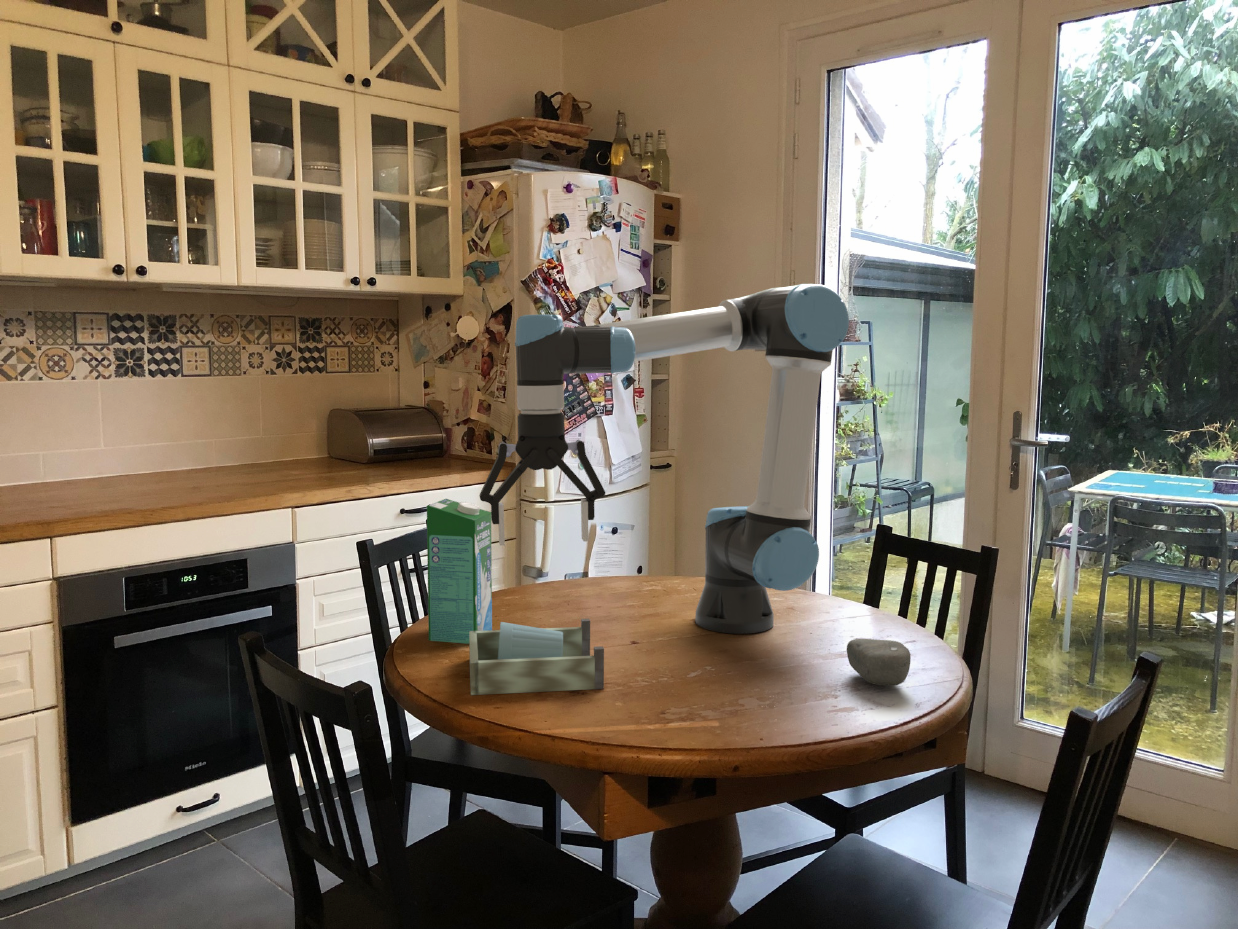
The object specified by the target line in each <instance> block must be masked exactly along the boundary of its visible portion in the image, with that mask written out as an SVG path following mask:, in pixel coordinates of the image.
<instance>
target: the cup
mask: <svg viewBox="0 0 1238 929" xmlns="http://www.w3.org/2000/svg"><path fill="white" fill-rule="evenodd" d="M499 630H500V636H499V650H498V660H502V659H525V658H548V657H562V652H563V632H560V631H555V630H548V629H542V628H541V627H535V626H531V625H530V626H529V625H521V624H518V623H517V624H516V623H512V622H511V623H510V622H503V621H500V624H499Z"/></svg>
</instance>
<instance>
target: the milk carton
mask: <svg viewBox="0 0 1238 929" xmlns="http://www.w3.org/2000/svg"><path fill="white" fill-rule="evenodd" d="M426 538H427V539H426V543H427V544H426V545H427V547H426V549H427V550H426V551H427V552H426V553H427V608H428V610H427V612H428V622H427V623H428V641H430V642H441V643H442V642H444V643H455V644H456V643H458V644H466V645H467V644H468V645H469V631H488V630H493V599H492V598H493V597H492V596H493V595H492V594H493V593H492V592H493V590H492V589H493V585H492V584H493V581H492V580H493V575H492V573H493V572H492V570H493V568H492V564H493V563H492V560H493V559H492V555H493V554H492V520H491V511H488V510H484V509H481V507H480V506H479V505H478V504H475V503H472V502H467V501H460V502H459V501H455V500H452V499H449V498H444V499H441V500H439V501H436V502H433V503H431V504H429V505H427V506H426Z"/></svg>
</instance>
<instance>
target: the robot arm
mask: <svg viewBox="0 0 1238 929" xmlns="http://www.w3.org/2000/svg"><path fill="white" fill-rule="evenodd" d="M848 311H849V310H848V308H847V305H846V303H845V302H844V300H843V299H842V298H841V296H840V295H839V293H837V291H836V290H834V289H833V288H831V287H829V286H827V285H824V284H815V283H801V284H796V285H789V286H784V287H783V286H781V287H771V288H769V289H768V288H767V289H765V290H761V291H757V292H754V293H751V294H749V295H748V294H747V295H743V296H740V297H735V298H729V299H725V300H724V299H723V300H722V301H721V302H719V304H718V306H713V307H708V308H707V307H705V308H701V309H694V310H687V311H680V312H673V313H667V314H659V315H653V316H646V317H640V318H634V319H626V320H619V321H613V322H606V323H600V324H596V325H585V326H578V327H572V326H570V327H569V326H564V323H563V317H562V316H561V315H559V314H524V315H520V316H519V317H518V318H517V320H516V322H515V338H514V339H515V341H514V346H515V363H516V364H515V365H516V366H515V367H516V404H517V405H516V409H518V410H519V411H520V413H518V415H517V440H516V443H515V444H513V443H505V441H502V442H501V441H500V442H499V443H498V450H497V457H496V459H495V461H494V463H493V465H492V467H491V469H490V472H489V473H488V476H487V477H486V480H485V483H483V486H482V489H481V491H480V493H479V499H480V501H481V502H485V503H488V504H489V505H490V512H491V524H492V525H498V544H499V546H505V542H506V541H505V512H504V511H505V510H504V509H505V508H504V507H505V506H504V503H503V502H501V501H502V500H503V498H504V497H505V496H506V495H507V493H508V492H509V491H510V490H511V489H512V487H513V486H514V485H515V483H516V482H517V481H518V480H519V478H520V477H521V476H522V475H523V474H524V473H525V472H526V470H528V469H530V470H533V471H539V470H542V469H543V470H547V471H548V470H549V471H550V470H553V469H555V468H556V467H558V468H559V469H560V470H561V472H562V473H563V474H564V475H565V476H566V478H568V479H569V480H570V481H571V482H572V484H573V485H574V486H575V487H576V488H577V490H579V492H580V493H581V494H582V495H583V496H584V497H585V499H580V516H581V517H580V519H581V521H580V522H581V523H580V524H581V526H580V527H581V539H582V541H583V542H589V521H594V520H595V501H596V500H597V499H598V498H602V497H605V495H606V491H605V488H604V487H603V484H602V483H601V481H600V479H599V477H598V474H597V473H596V472H595V469H594V468H593V465H592V464H591V462H590V460H589V458H588V456H587V452H586V446H585V442H584V441H582V440H581V439H578V440H576V441H571V442H567V440H566V438H565V437H566V436H565V434H566V433H565V429H566V428H565V427H566V426H565V414H564V413H563V412H562V411H561V410H563V409H565V393H564V392H565V391H564V390H565V388H564V385H565V384H564V382H565V379H564V376H565V375H573V374H611V375H613V374H617V373H627V372H628V371H630V370H631V369H632V368H633V365H634V363H635V362H639V361H640V362H641V361H647V360H653V359H654V360H655V359H659V358H665V357H671V356H678V355H685V354H691V353H697V352H702V351H708V350H714V349H715V350H716V349H720V348H724V349H725V350H726V351H728V352H736V351H744V350H757V351H761V350H762V351H765V354H764V359H765V360H766V361H767V363H768V364H769V365H770V367H771V377H770V384H769V385H770V386H769V394H768V402H767V410H766V418H765V425H764V433H763V443H762V449H761V458H760V466H759V472H758V480H757V481H758V482H757V490H756V498H755V501H754V502H752V503H751V504H750V505H748V506H743V505H742V506H725V507H724V506H723V507H713V508H710V509H709V510H708V512H707V513H706V520H705V525H704V530H705V561H704V562H705V564H704V566H705V568H704V571H705V573H704V574H705V576H704V577H705V578H704V586H703V588H702V590H701V594H700V597H699V601H698V603H697V606H696V609H695V619H694V621H695V624H696V625H697V626H698V627H700V628H702V629H705V630H708V631H712V632H716V633H722V634H723V633H724V634H736V635H737V634H739V635H742V634H755V633H761V632H765V631H768V630H770V629H771V628H773V627H774V619H775V618H774V611H773V608H772V607H773V606H772V604H771V600H770V597H769V593H768V590H767V589H770V590H771V589H772V590H776V591H781V592H787V591H792V590H795V589H797V588H799V587H801V586H803V584H804V583H805V582H806V581H809V580H810V578H811V577H812V576H813V574H814V572H815V571H816V570H817V569H816V568H817V566H818V563H819V560H820V548H819V545H818V542H817V541H816V540H815V537H814V536H813V534H811V533H810V530H811V520H812V516H811V514H810V513H809V512H808V511H807V508H806V507H805V501H806V500H805V499H806V493H807V487H808V486H807V485H808V477H809V470H810V463H811V462H810V461H811V454H812V448H813V447H812V445H813V438H814V432H815V431H814V430H815V425H816V424H815V422H816V414H817V408H818V399H819V398H818V397H819V392H820V383H821V375H822V373H823V372H824V371H825V370H826V369H828V367H830V366H831V364H832V359H833V358H832V357H833V350H834V349H836V348H838V347H839V345H840V344H841V343H842V342H844V340H845V338H846V336H847V333H848V331H849V326H850V318H849V312H848ZM569 450H570V451H571V453H572V454H573V455H575V456H577V458H578V461H579V462H580V465H581V466H582V468H583V470H584V473H585V474H586V476H587V477H588V480H589V481H590V483H591V485H592V487H593V490H590V489H589V488H588V487H587V486H586V485H585V483H583V481H582V480H581V479H580V478H579V477H578V476H577V474H576V473H574V471H573V470H572V468H570V466H569V465H568V464H567V463H566V462H565V461H564V460H563V458H564V457H565V455H566V454H567V452H568V451H569ZM513 452H515V453H516V454H517V455H518V456H519V457H520V460H519V461H518V463H517V464H516V465H515V467H514V468H513V470H512V471H511V472H510V473H509V475H508V476H507V477H506V478H505V480H504V481H503V482H502V483H501V484H500V486H499V487H498V488H497V489H496V490H495V492H494V493H493V494H491V492H492V490H493V489H494V488H493V487H494V486H495V483H496V481H497V479H498V477H499V475H500V473H501V471H502V469H503V467H504V464H505V462H506V459H507V458H510V456H512V453H513Z"/></svg>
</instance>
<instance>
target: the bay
mask: <svg viewBox="0 0 1238 929" xmlns="http://www.w3.org/2000/svg"><path fill="white" fill-rule="evenodd" d="M542 629H548V630H555V631H560V632H563V652H562V657H548V658H525V659H502V660H498V650H499V636H500V629H496V630H495V629H494V630H493V629H492V630H488V631H469V644H468V646H469V680H470V681H469V686H470V695H471V696H479V695H498V694H499V695H500V694H504V695H505V694H519V693H520V694H521V693H541V692H560V691H561V692H562V691H583V690H586V691H587V690H604V689H605V648H604V646H593V655H591V619H590V618H581V619H580V626H572V627H571V626H570V627H569V626H568V627H546V628H545V627H544V628H542Z"/></svg>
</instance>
